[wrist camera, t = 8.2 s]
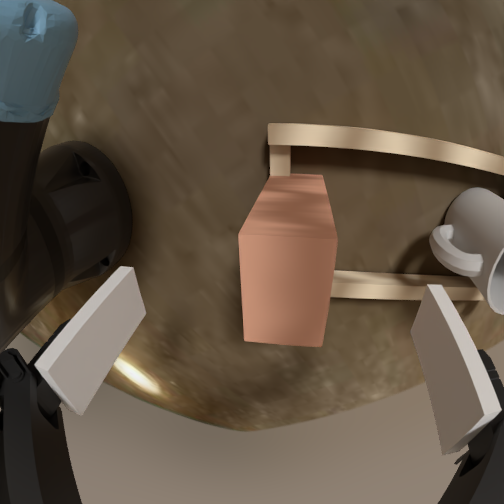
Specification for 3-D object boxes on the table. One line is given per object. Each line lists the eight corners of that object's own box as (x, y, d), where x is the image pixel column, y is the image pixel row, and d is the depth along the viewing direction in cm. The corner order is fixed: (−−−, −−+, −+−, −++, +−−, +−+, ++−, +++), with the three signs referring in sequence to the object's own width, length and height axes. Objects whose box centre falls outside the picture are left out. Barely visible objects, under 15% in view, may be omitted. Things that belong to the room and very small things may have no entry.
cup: (492, 255, 21) (536, 307, 13) (411, 262, 24) (444, 326, 16) (502, 186, 18) (561, 223, 10) (416, 185, 20) (466, 227, 13)
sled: (271, 280, 27) (247, 385, 16) (270, 123, 20) (234, 134, 10) (487, 289, 23) (536, 368, 12) (520, 162, 16) (605, 207, 6)
